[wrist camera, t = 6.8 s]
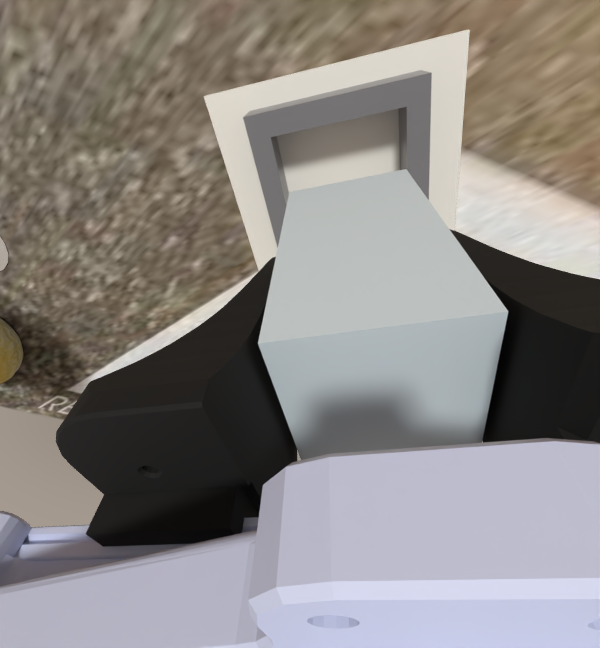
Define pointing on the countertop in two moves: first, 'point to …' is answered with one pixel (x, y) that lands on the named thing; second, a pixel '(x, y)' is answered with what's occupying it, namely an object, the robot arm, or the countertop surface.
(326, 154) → the dock
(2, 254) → the wineglass
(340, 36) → the countertop surface
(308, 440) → the block
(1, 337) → the bread roll
